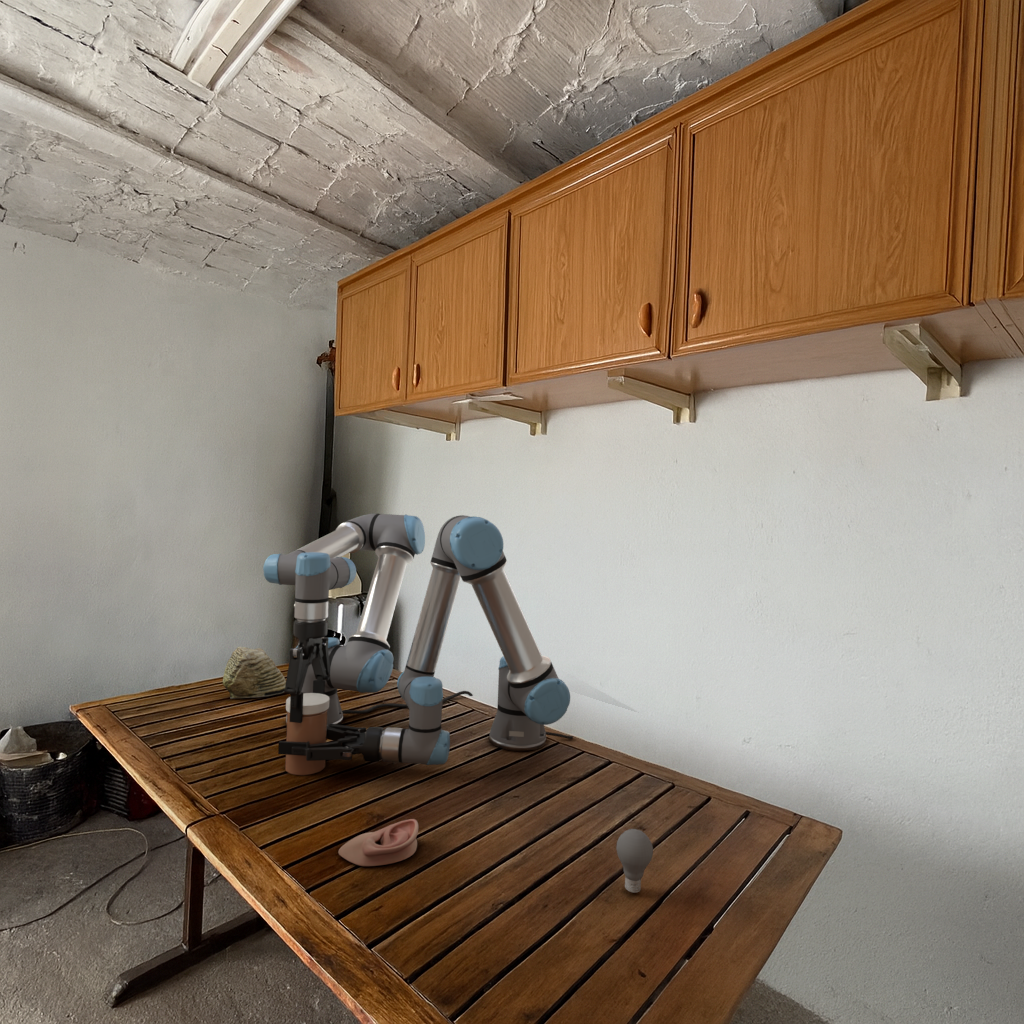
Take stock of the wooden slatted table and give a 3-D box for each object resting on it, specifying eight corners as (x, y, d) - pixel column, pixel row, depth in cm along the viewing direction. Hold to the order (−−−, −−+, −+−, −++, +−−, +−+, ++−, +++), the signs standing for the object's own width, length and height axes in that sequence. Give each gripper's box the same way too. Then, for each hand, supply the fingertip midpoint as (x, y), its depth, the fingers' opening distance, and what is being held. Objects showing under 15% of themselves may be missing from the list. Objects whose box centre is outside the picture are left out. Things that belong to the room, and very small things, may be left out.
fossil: (218, 695, 195) (220, 647, 195) (278, 685, 208) (279, 640, 207) (228, 703, 189) (230, 653, 188) (289, 692, 201) (290, 645, 201)
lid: (322, 699, 154) (322, 690, 154) (334, 711, 146) (334, 702, 146) (281, 704, 149) (281, 696, 149) (291, 717, 141) (291, 708, 141)
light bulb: (610, 879, 108) (613, 822, 108) (644, 879, 109) (647, 822, 109) (619, 902, 102) (622, 840, 102) (655, 901, 103) (658, 840, 103)
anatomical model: (330, 838, 110) (359, 807, 121) (329, 861, 110) (358, 828, 121) (402, 850, 107) (425, 817, 119) (401, 873, 108) (424, 838, 119)
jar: (316, 776, 143) (318, 710, 143) (278, 773, 144) (280, 707, 144) (331, 760, 152) (333, 698, 152) (295, 757, 153) (297, 695, 153)
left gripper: (319, 610, 159) (315, 698, 159) (269, 626, 137) (265, 729, 138) (347, 612, 158) (343, 701, 158) (301, 629, 136) (297, 733, 136)
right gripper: (370, 781, 137) (267, 775, 137) (392, 742, 158) (303, 737, 159) (372, 746, 137) (268, 741, 137) (393, 712, 158) (304, 708, 159)
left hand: (307, 714), depth 148 cm, fingers closed on lid, 10 cm apart
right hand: (287, 739), depth 148 cm, fingers closed on jar, 9 cm apart
